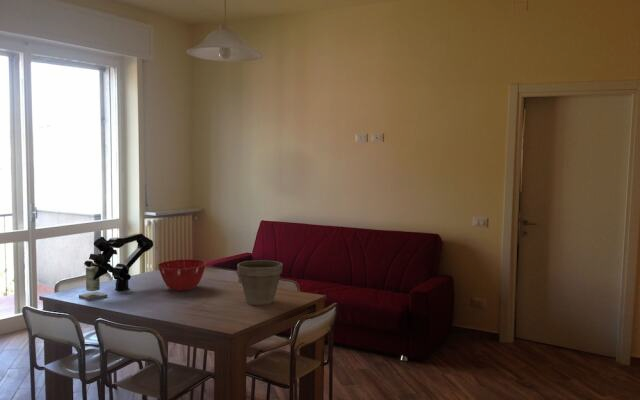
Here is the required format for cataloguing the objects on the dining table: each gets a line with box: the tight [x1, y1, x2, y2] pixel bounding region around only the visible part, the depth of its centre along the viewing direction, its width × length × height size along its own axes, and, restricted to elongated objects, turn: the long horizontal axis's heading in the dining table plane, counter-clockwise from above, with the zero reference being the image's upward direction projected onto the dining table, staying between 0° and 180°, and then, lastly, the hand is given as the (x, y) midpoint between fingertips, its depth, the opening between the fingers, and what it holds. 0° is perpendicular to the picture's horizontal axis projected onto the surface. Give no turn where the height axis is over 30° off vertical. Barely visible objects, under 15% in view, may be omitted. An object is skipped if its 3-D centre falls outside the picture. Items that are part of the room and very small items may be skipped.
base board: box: [78, 291, 108, 302], centre depth 313 cm, size 11×11×2 cm
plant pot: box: [236, 259, 284, 306], centre depth 304 cm, size 25×25×22 cm
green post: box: [85, 266, 101, 293], centre depth 312 cm, size 5×5×13 cm
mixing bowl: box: [157, 258, 207, 292], centre depth 335 cm, size 28×28×16 cm
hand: (90, 278), depth 311 cm, fingers closed on green post, 5 cm apart
